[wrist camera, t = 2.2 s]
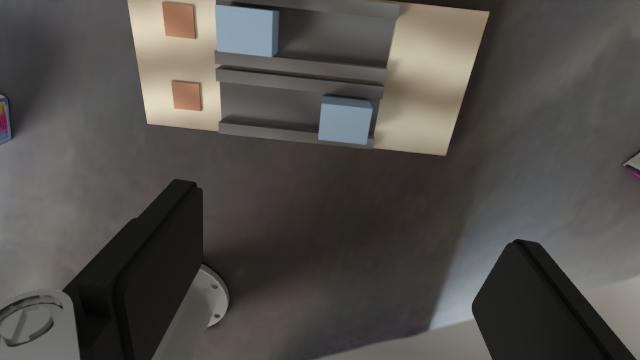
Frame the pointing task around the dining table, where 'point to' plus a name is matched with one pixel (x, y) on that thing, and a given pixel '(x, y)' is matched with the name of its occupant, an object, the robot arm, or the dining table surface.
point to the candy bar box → (633, 165)
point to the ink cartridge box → (4, 121)
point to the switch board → (310, 69)
